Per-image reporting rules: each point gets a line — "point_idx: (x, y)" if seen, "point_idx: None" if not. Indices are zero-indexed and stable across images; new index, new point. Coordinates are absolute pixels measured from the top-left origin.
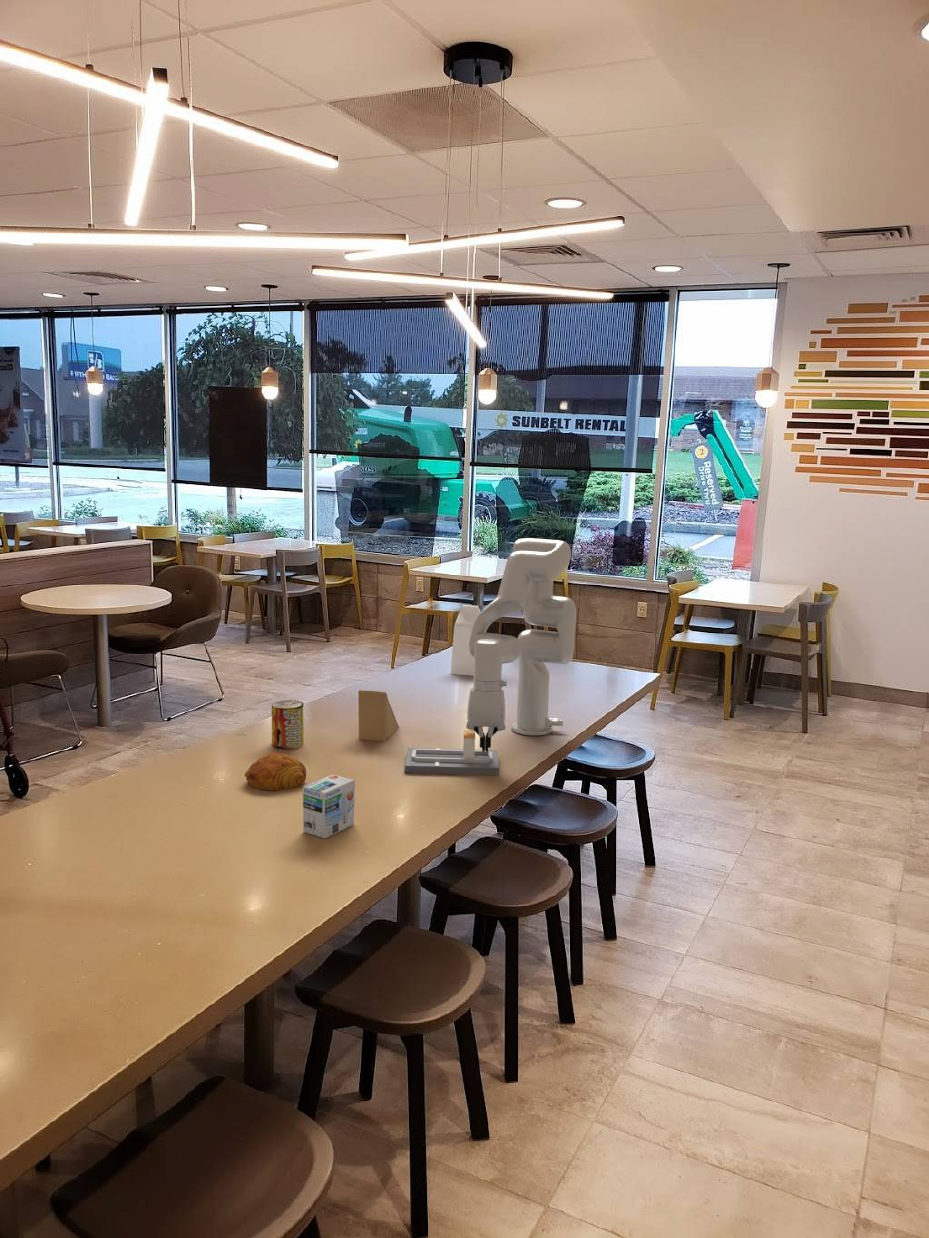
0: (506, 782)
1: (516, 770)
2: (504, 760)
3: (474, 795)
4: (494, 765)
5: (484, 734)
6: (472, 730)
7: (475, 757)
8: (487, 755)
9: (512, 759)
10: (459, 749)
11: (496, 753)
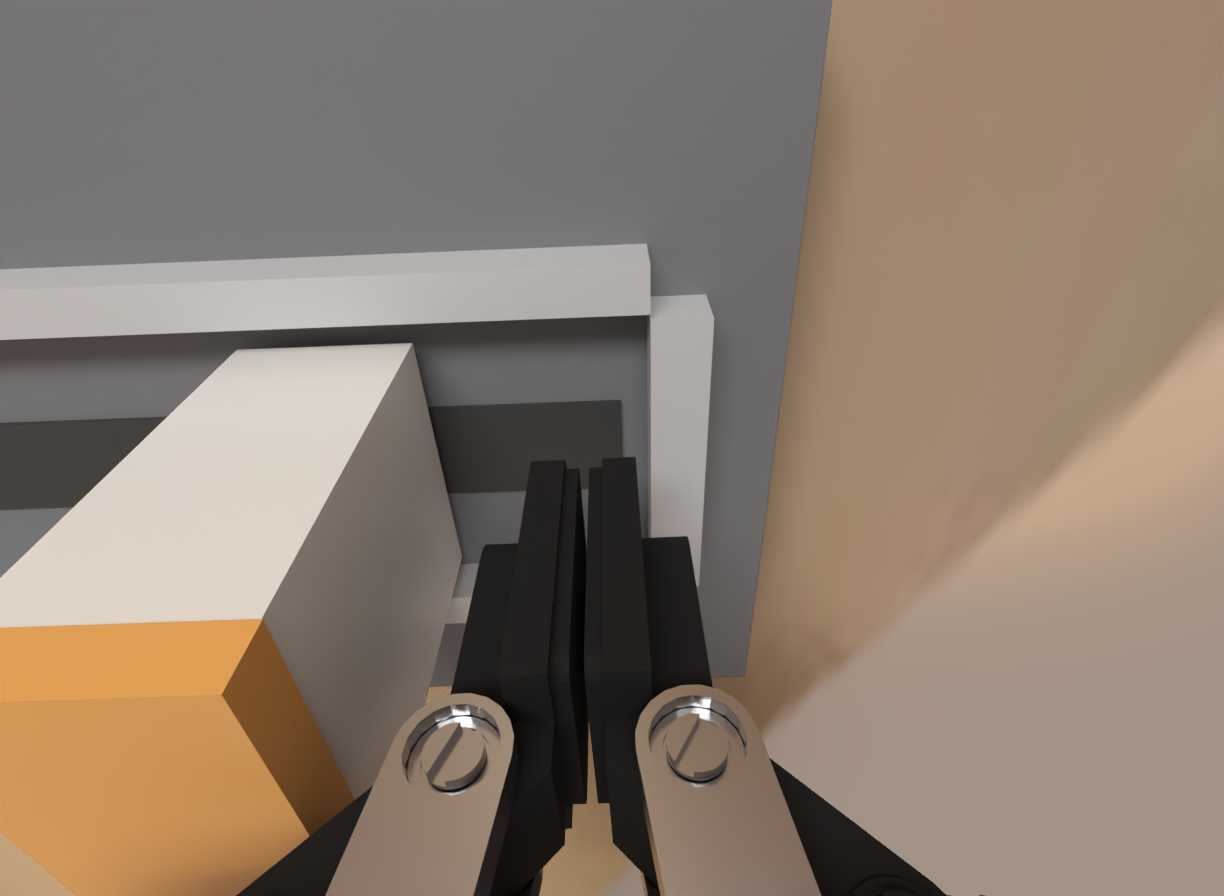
0: (775, 718)
1: (944, 493)
2: (896, 151)
3: (547, 862)
4: (704, 626)
5: (558, 831)
6: (157, 723)
7: (458, 437)
8: (631, 316)
9: (1044, 80)
10: (47, 21)
11: (793, 195)
